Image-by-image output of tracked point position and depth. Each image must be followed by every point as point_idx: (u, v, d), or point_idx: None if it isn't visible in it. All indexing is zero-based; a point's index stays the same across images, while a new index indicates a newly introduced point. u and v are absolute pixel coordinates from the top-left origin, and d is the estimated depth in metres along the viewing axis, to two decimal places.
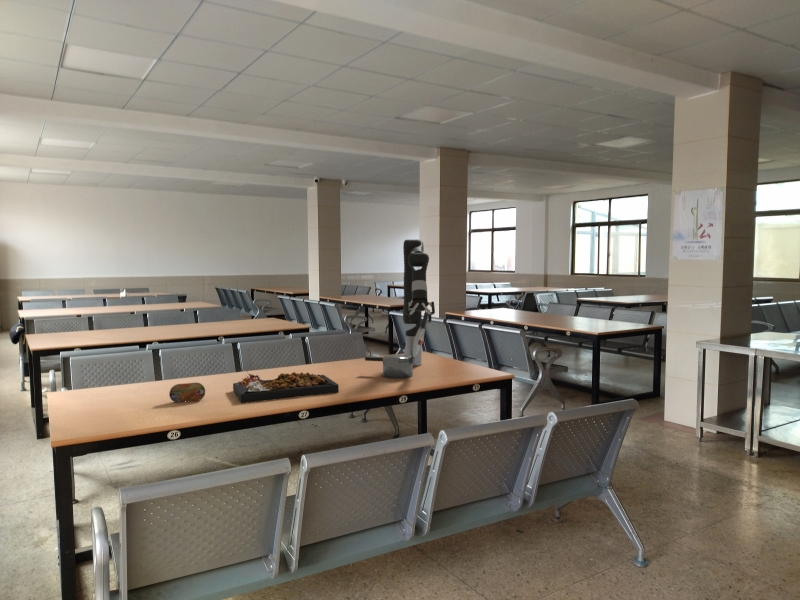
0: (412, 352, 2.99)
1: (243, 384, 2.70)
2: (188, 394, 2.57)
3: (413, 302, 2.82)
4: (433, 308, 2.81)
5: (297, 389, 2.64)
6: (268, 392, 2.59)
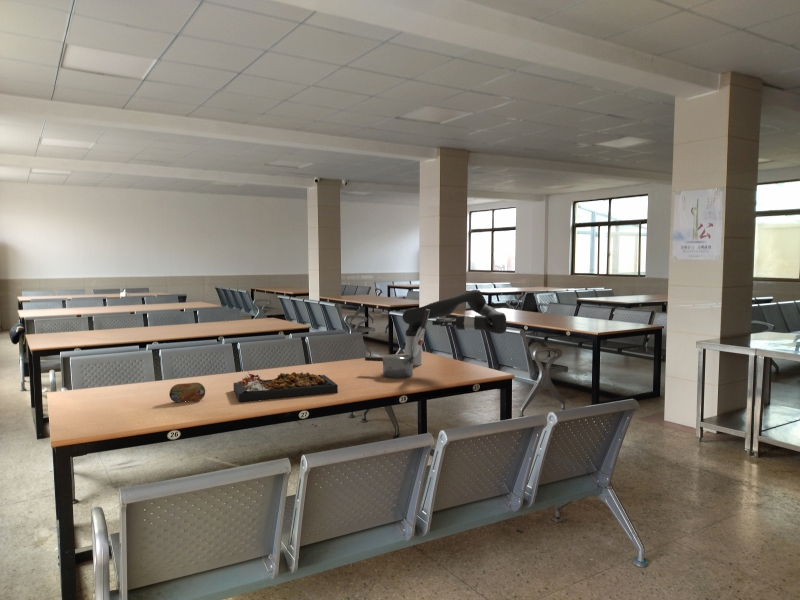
0: (412, 352, 2.99)
1: (243, 384, 2.71)
2: (188, 394, 2.57)
3: (452, 325, 2.88)
4: None
5: (296, 389, 2.64)
6: (266, 392, 2.59)
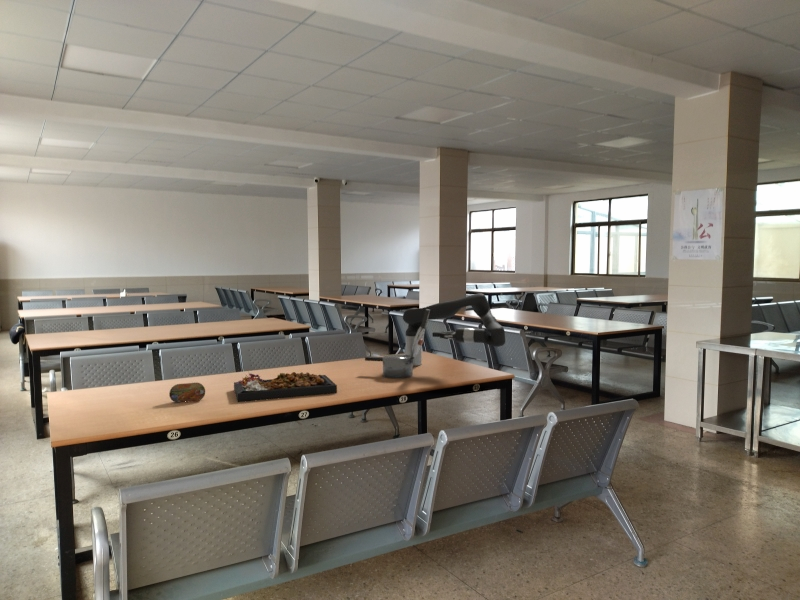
0: (412, 352, 2.99)
1: (243, 383, 2.71)
2: (188, 394, 2.57)
3: (451, 338, 2.93)
4: None
5: (294, 389, 2.64)
6: (265, 392, 2.59)
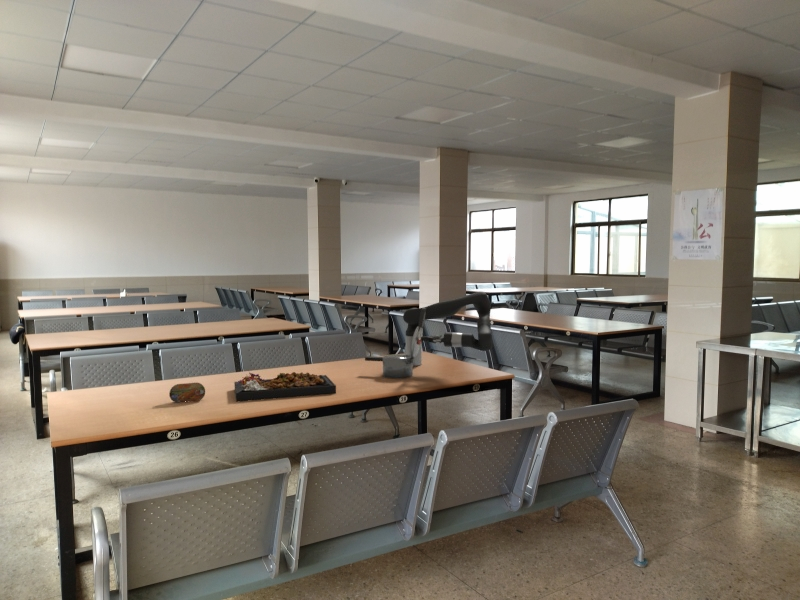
0: (411, 352, 2.99)
1: (242, 383, 2.72)
2: (188, 394, 2.57)
3: (440, 342, 2.97)
4: None
5: (293, 389, 2.64)
6: (264, 391, 2.60)
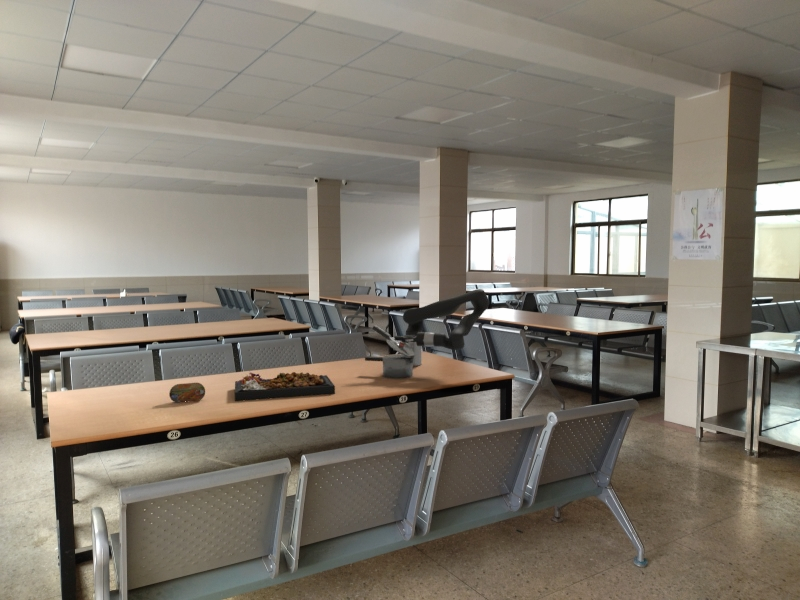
0: (404, 354, 3.00)
1: (242, 382, 2.73)
2: (188, 394, 2.57)
3: (412, 341, 3.01)
4: None
5: (292, 389, 2.64)
6: (262, 391, 2.60)
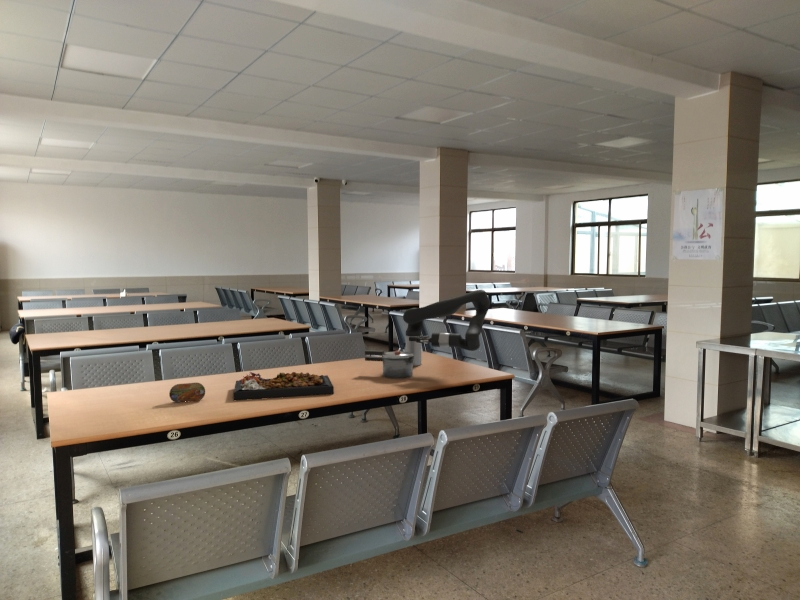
0: (402, 357, 3.00)
1: (242, 382, 2.74)
2: (188, 394, 2.57)
3: (427, 342, 2.99)
4: None
5: (290, 389, 2.64)
6: (261, 391, 2.61)
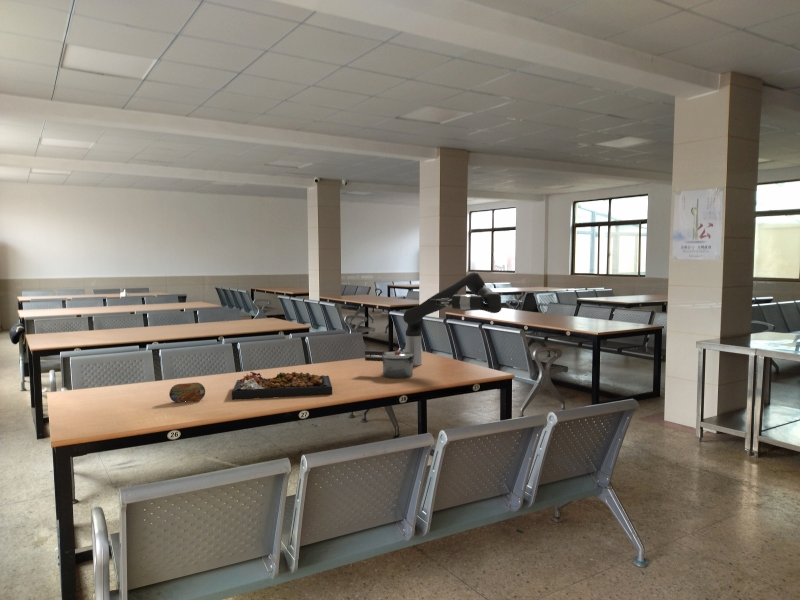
0: (402, 357, 3.00)
1: (243, 381, 2.76)
2: (188, 394, 2.57)
3: (448, 304, 2.94)
4: None
5: (289, 389, 2.64)
6: (259, 390, 2.62)
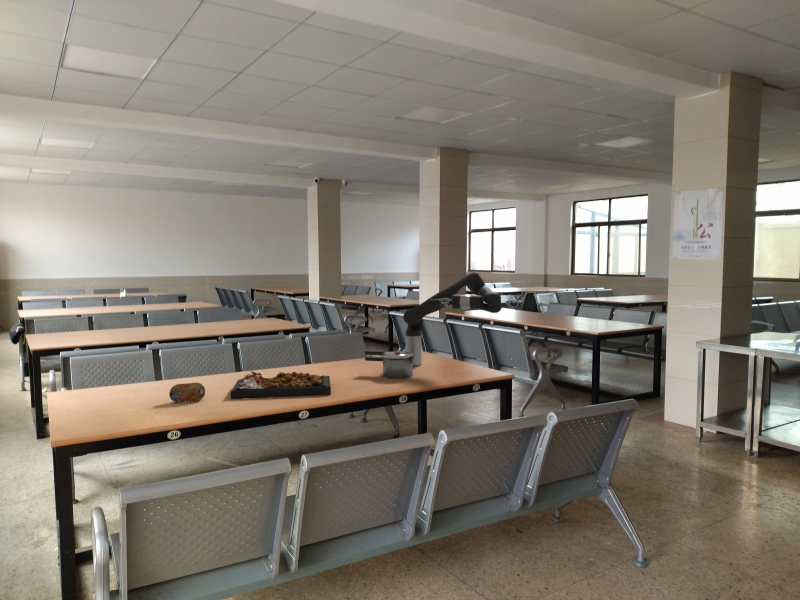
0: (402, 357, 3.00)
1: (243, 381, 2.77)
2: (188, 394, 2.57)
3: (448, 304, 2.94)
4: None
5: (287, 389, 2.64)
6: (258, 390, 2.62)
